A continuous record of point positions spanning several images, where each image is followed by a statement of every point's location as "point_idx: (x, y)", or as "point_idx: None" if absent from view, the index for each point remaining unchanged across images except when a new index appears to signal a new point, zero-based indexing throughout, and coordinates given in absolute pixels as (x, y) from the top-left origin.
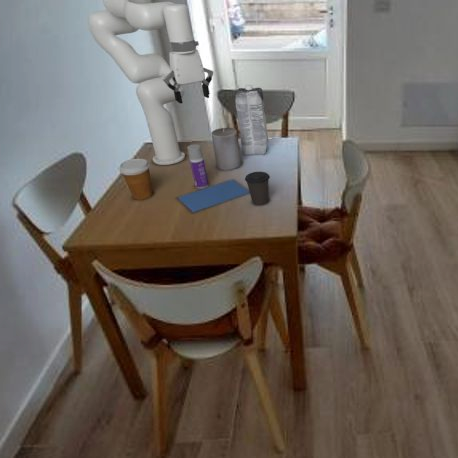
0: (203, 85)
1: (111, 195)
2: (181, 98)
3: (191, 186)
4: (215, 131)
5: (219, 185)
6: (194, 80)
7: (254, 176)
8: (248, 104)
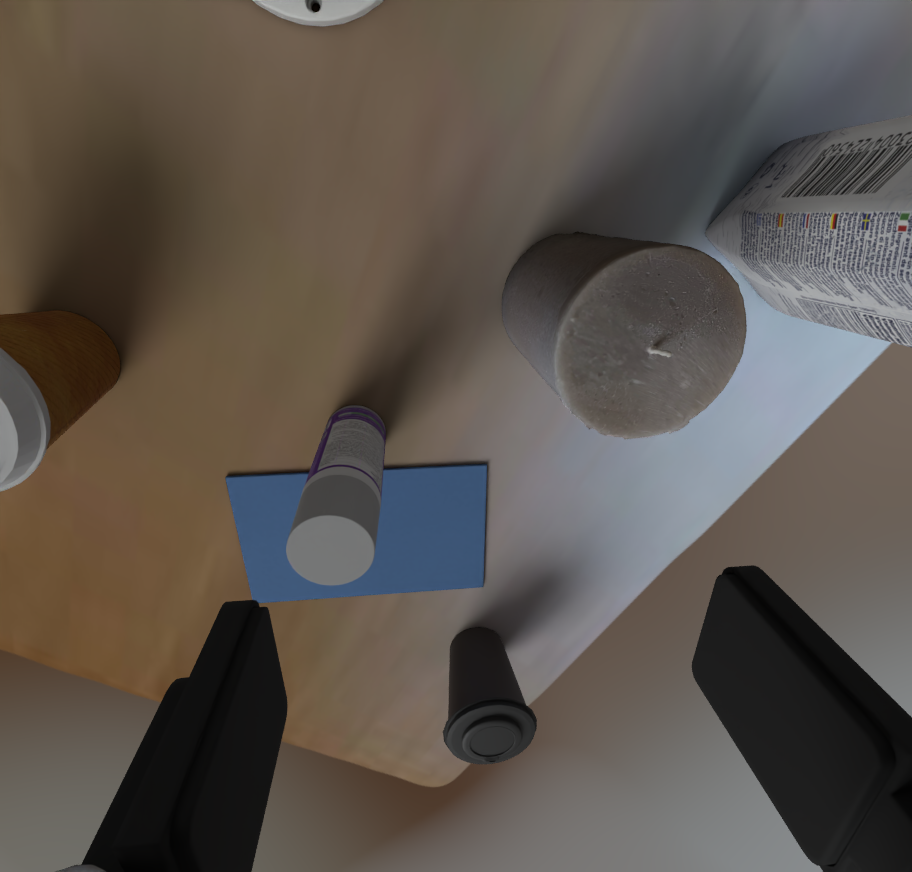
0: (877, 814)
1: None
2: (266, 785)
3: (312, 409)
4: (612, 298)
5: (417, 482)
6: None
7: (479, 744)
8: None
